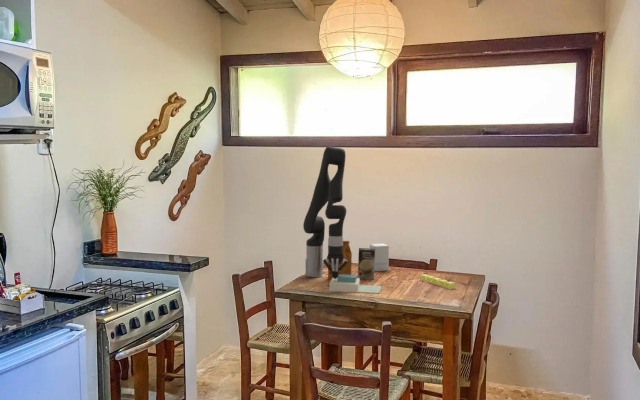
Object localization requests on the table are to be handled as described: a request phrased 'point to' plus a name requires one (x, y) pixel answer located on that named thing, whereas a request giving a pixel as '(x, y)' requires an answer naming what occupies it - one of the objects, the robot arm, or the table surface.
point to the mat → (369, 289)
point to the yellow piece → (438, 281)
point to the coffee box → (366, 263)
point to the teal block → (347, 278)
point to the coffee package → (347, 256)
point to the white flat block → (344, 286)
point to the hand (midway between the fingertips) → (335, 278)
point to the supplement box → (381, 257)
